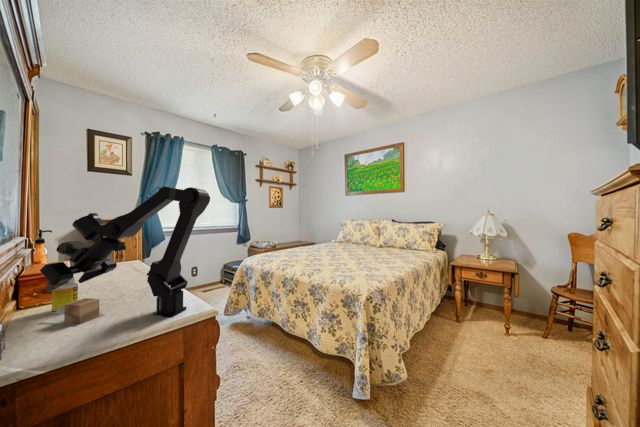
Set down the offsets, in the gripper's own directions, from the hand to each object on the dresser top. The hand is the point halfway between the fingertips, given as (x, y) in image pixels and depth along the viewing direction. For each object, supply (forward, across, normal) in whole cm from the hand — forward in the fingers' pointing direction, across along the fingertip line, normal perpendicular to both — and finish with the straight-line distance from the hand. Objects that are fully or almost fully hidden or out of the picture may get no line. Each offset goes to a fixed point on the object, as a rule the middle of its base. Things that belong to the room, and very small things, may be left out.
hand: (64, 286), depth 75 cm
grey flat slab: (-1, +6, +12) cm, 14 cm away
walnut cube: (-4, +7, +14) cm, 16 cm away
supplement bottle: (+5, 0, +6) cm, 8 cm away
